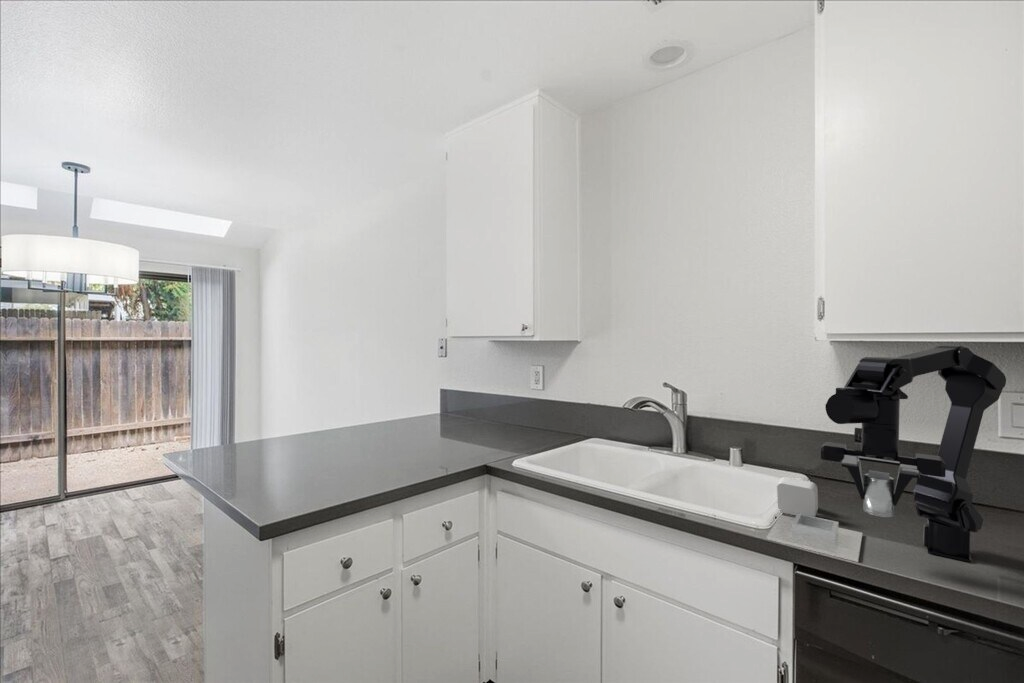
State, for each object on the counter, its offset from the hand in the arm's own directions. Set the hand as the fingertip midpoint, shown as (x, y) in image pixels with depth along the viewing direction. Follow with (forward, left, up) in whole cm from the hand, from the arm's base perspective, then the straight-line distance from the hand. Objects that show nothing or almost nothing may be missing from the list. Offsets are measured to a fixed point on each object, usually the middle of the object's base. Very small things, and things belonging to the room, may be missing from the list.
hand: (878, 502), depth 92 cm
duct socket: (+11, -6, -12) cm, 17 cm away
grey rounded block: (+16, -22, -12) cm, 30 cm away
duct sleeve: (0, 0, -2) cm, 2 cm away
